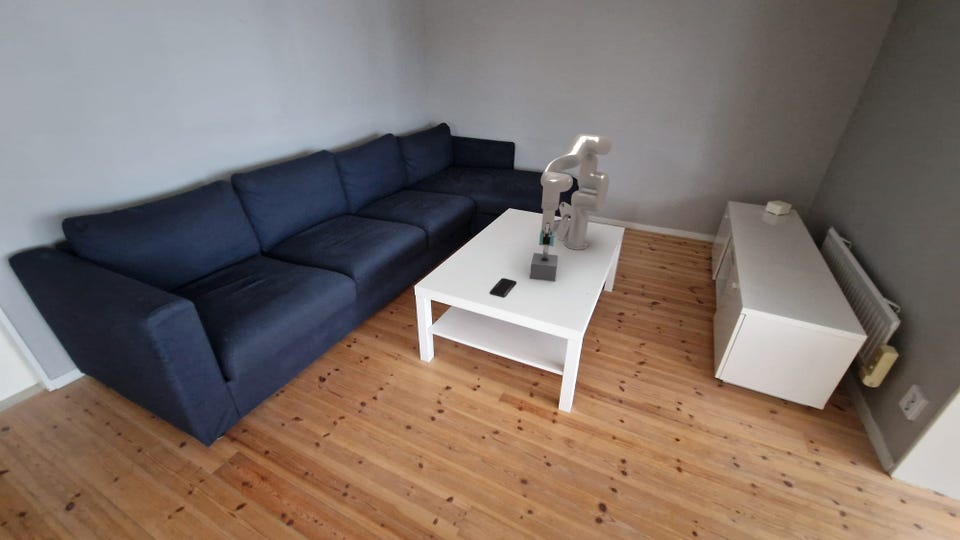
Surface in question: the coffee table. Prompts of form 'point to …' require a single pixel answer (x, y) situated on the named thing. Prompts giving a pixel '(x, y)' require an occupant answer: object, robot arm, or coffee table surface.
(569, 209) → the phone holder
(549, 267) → the bearing block
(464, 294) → the coffee table surface
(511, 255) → the coffee table surface
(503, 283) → the phone
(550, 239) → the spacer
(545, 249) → the shaft
